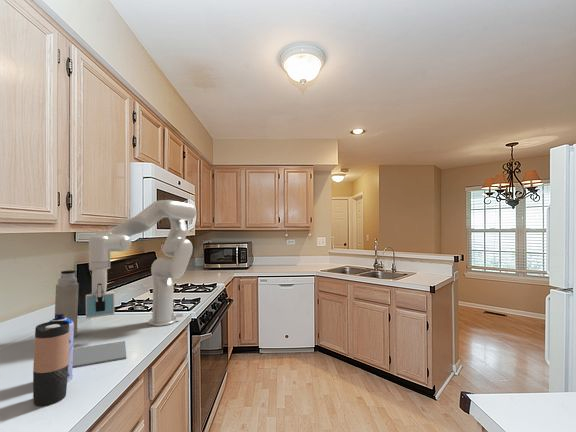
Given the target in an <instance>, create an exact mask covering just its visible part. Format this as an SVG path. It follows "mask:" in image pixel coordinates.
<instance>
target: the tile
mask: <svg viewBox="0 0 576 432" xmlns="http://www.w3.org/2000/svg"><path fill="white" fill-rule="evenodd" d="M97 294H98V293H97ZM102 299H103V298H102ZM104 301H105V311H100V312H96V293H95V294H94V295H92V293H89V294H85V319H92V318H99V317H106V316H113V315H115V291H106V293H105V294H104Z"/></svg>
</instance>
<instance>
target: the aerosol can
mask: <svg viewBox="0 0 576 432" xmlns="http://www.w3.org/2000/svg"><path fill="white" fill-rule="evenodd" d="M52 321H68V322H69V358H68V376H67V383H68V382H71V381H72V380H73V377H74V375H73V368H72V365H73V349H74V337H73V336H74V324H73V321H71V320H70V319H69V318H66V317H64V314H55V313H54V318H52V319H50V320H49V321H48V322H52Z"/></svg>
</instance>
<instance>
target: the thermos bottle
mask: <svg viewBox="0 0 576 432" xmlns="http://www.w3.org/2000/svg"><path fill="white" fill-rule="evenodd" d="M75 275H76V271H75V270H72V269H71V270H70V269H69V270H63V271H62V270H61V272H60V278H58V279H57V284H56V285H55V297H54V298H55V302H54V315H55V314H64V317H66V318H69V319H70V320H71V321H73V324H74V336H73V338H76V337H77V335H78V317H79V315H78V313H79V312H78V311H79V308H78V307H79V282H78V278H77V277H75Z"/></svg>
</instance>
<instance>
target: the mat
mask: <svg viewBox="0 0 576 432" xmlns="http://www.w3.org/2000/svg"><path fill="white" fill-rule="evenodd" d="M126 359H127V349H126V341H125V340H123V341H121V340H120V341H116V342H115V341H114V342H110V343H102V344H96V345H88V346H82V347H75V348H74V347H73V365H72V369H74V368H80V367H86V366H91V365H96V364H97V365H98V364H102V363H109V362H114V361H120V360H126Z"/></svg>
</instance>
